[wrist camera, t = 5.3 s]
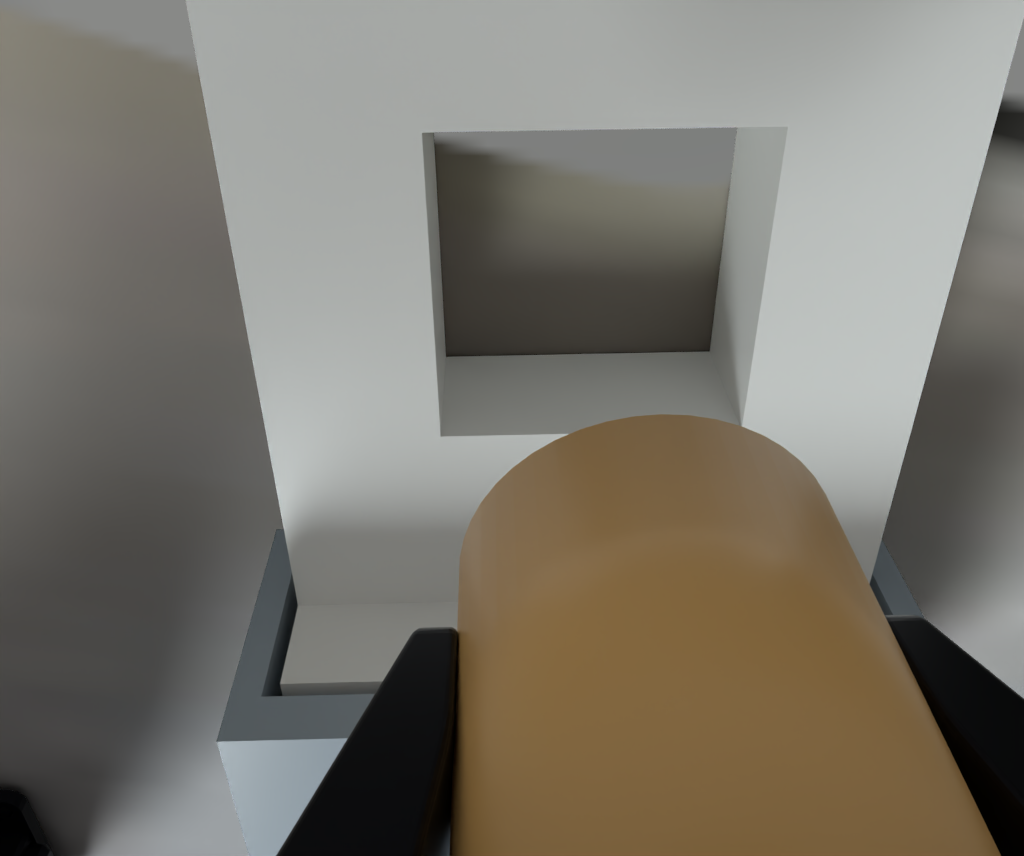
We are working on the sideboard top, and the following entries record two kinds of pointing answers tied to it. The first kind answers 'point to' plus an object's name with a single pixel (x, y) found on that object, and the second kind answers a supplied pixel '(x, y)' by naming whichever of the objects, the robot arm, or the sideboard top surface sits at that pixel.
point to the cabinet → (330, 709)
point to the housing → (575, 377)
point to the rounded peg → (685, 664)
